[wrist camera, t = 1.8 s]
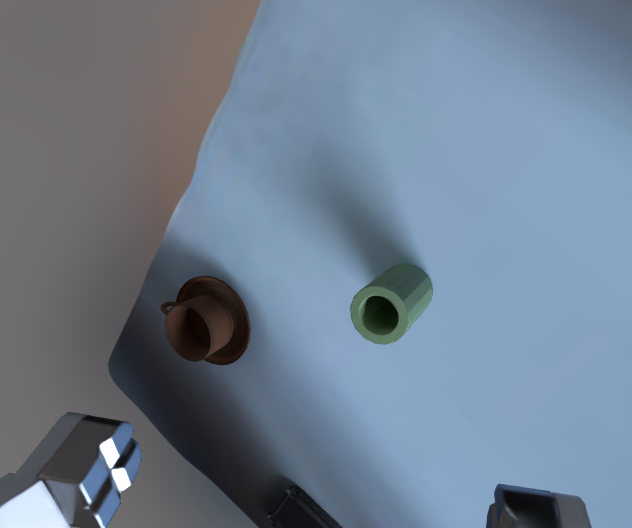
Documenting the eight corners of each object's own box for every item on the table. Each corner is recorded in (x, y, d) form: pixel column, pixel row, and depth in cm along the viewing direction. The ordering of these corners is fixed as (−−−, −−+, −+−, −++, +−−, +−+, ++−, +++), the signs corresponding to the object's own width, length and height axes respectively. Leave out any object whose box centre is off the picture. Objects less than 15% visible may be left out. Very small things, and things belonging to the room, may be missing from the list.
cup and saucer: (188, 349, 66) (155, 367, 61) (181, 267, 63) (146, 279, 57) (259, 367, 60) (230, 389, 55) (255, 278, 57) (224, 293, 52)
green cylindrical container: (405, 252, 48) (376, 273, 40) (444, 291, 47) (421, 319, 39) (372, 286, 50) (339, 311, 43) (407, 323, 49) (380, 355, 42)
